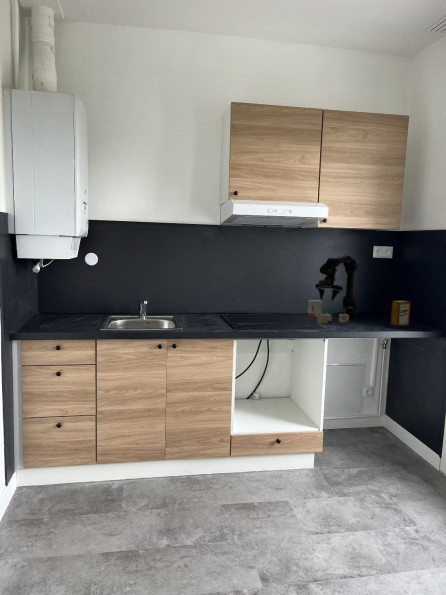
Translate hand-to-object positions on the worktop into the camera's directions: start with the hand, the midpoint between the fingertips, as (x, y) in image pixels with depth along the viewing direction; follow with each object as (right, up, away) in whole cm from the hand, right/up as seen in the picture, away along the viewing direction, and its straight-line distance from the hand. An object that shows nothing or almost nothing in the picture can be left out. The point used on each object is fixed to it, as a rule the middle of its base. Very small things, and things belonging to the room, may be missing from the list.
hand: (326, 299), depth 298 cm
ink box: (-4, -12, +23) cm, 26 cm away
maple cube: (+13, -15, +5) cm, 20 cm away
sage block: (+1, -14, +10) cm, 17 cm away
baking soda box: (+48, -17, -1) cm, 51 cm away
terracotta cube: (-3, -15, -1) cm, 15 cm away
